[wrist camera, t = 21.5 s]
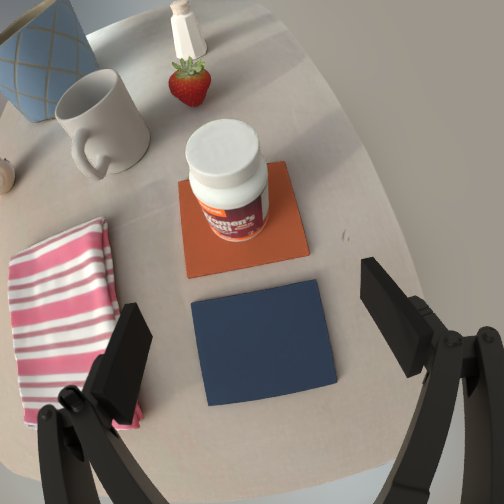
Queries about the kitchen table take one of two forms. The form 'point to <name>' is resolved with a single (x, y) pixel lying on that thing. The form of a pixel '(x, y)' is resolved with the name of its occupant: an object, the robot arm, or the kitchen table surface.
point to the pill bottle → (229, 178)
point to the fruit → (190, 82)
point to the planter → (43, 58)
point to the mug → (102, 124)
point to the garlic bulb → (6, 176)
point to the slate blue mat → (263, 344)
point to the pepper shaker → (186, 32)
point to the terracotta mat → (250, 251)
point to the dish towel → (62, 314)
